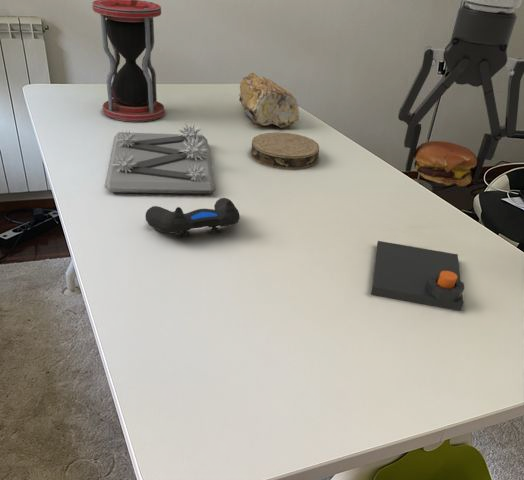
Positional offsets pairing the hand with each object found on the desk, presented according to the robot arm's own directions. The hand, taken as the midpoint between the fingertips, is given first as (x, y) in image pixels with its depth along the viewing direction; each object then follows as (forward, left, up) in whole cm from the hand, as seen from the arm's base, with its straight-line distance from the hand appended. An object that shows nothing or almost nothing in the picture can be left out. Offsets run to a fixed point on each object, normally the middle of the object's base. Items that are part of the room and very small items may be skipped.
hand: (440, 173), depth 86 cm
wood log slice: (+31, -40, -16) cm, 53 cm away
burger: (0, 0, 0) cm, 1 cm away
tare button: (-4, +11, -13) cm, 18 cm away
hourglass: (+75, -55, -16) cm, 95 cm away
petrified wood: (+41, -67, -16) cm, 80 cm away
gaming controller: (+39, +3, -16) cm, 42 cm away
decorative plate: (+55, -22, -16) cm, 61 cm away
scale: (0, +6, -16) cm, 17 cm away
